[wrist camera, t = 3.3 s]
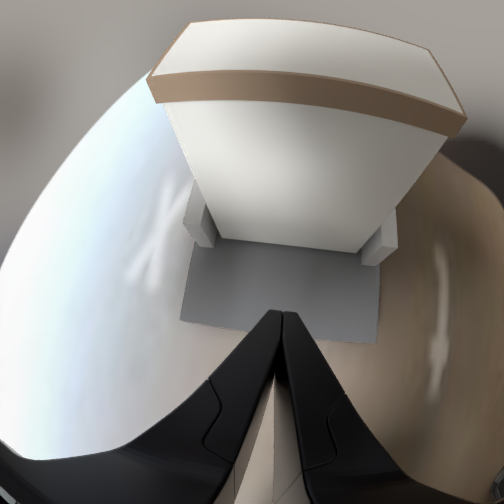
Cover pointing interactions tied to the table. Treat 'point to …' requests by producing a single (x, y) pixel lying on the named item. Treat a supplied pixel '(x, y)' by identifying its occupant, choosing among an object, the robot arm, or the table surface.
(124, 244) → the table surface
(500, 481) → the phone
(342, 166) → the white box
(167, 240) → the table surface
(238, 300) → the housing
